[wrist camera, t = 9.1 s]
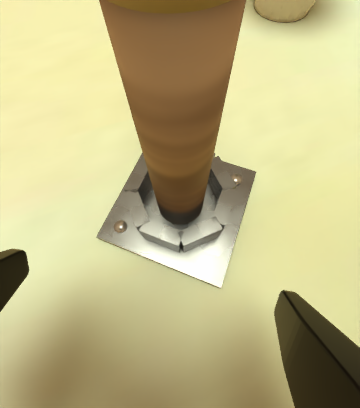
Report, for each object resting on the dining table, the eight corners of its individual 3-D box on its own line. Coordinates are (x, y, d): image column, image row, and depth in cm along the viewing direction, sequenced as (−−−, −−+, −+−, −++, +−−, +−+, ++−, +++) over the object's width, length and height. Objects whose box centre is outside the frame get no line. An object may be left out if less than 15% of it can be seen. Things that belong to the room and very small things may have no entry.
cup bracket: (254, 174, 19) (265, 155, 17) (220, 288, 16) (227, 286, 13) (150, 141, 21) (145, 119, 18) (98, 238, 17) (83, 228, 15)
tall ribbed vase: (201, 229, 17) (280, -60, 3) (152, 222, 17) (25, -72, 3) (206, 185, 18) (276, -146, 5) (161, 179, 19) (97, -150, 5)
